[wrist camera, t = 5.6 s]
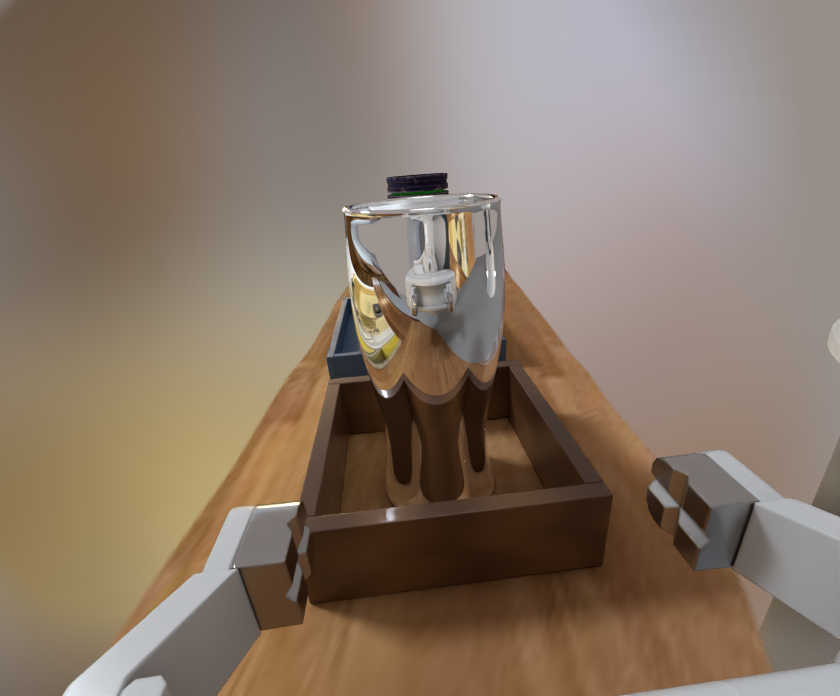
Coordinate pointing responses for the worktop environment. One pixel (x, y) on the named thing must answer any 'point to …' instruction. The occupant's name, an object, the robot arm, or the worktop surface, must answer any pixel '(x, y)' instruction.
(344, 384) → the wooden square box
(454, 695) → the worktop surface
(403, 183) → the navy layered cylinder
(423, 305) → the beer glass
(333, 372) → the tray
